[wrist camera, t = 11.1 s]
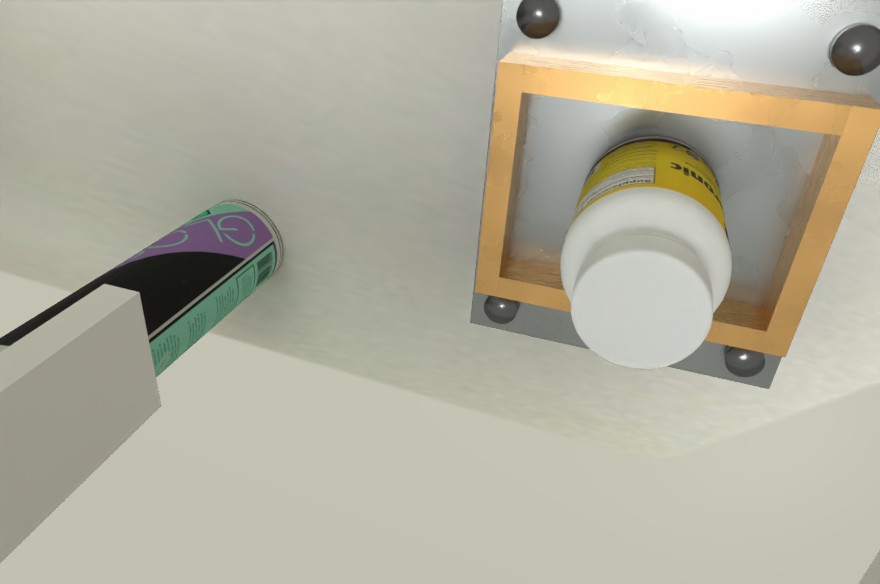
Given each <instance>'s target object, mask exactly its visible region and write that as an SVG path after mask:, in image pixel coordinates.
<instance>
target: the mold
mask: <svg viewBox="0 0 880 584" xmlns="http://www.w3.org/2000/svg"><path fill="white" fill-rule="evenodd" d="M879 126H880V0H503V4H502V14H501V24H500V34H499V43H498V53H497V63H496V73H495V83H494V93H493V103H492V113H491V123H490V133H489V143H488V152H487V162H486V172H485V182H484V192H483V202H482V212H481V222H480V232H479V242H478V251H477V261H476V271H475V281H474V291H473V301H472V311H471V321H470V323H474V324H479V325H483V326H488V327H492V328H497V329H501V330H506V331H510V332H515V333H519V334H524V335H528V336H533V337H537V338H542V339H546V340H551V341H555V342H560V343H564V344H569V345H573V346H578V347H582V348H587V349H590V348H589V347H588V346H587V345H586V344H585V343H584V342H583V341H582V339H581V338H580V336H579V335H578V333H577V331H576V329H575V326H574V324H573V321H572V316H571V302H570V300H569V299H568V297H567V295H566V292H565V289H564V287H563V283H562V278H561V269H560V262H561V253H562V249H563V244H564V241H565V238H566V235H567V232H568V229H569V226H570V223H571V220H572V217H573V214H574V212H575V209H576V206H577V202H578V200H579V197H580V194H581V191H582V188H583V185H584V183H585V180H586V178H587V176H588V174H589V172H590V171H591V169H592V167H593V166H594V165H595V163H596V162H597V161H598V160H599V159H600V158H601V157H602V156H603V155H604V154H605V153H606V152H608V151H609V150H610V149H612V148H614V147H615V146H617V145H619V144H621V143H623V142H626V141H628V140H631V139H635V138H640V137H648V136H660V137H667V138H672V139H675V140H678V141H681V142H683V143H685V144H687V145H689V146H690V147H692V148H693V149H695V150H696V151H697V152H699V153H700V154H701V155H702V156H703V157H704V158H705V159H706V160H707V162H708V163H709V165H710V166H711V168H712V170H713V172H714V174H715V176H716V179H717V182H718V185H719V189H720V194H721V200H722V206H723V212H724V218H725V223H726V228H727V233H728V238H729V243H730V249H731V252H732V256H731V258H732V272H731V279H730V283H729V286H728V289H727V292H726V294H725V296H724V299H723V300H722V302H721V303H720V305H719V307H718V308H717V309H716V310H715V312H714V313H713V320H712V324H711V328H710V330H709V332H708V334H707V336H706V338H705V340H704V341H703V342H702V344H701V345H700V346H699V347H698V348H697V349H696V350H695V351H694V352H693V353H692V354H690V355H689V356H688V357H686V358H684V359H683V360H681V361H679V362H677V363H674V364H672V365H669V366H668V367H672V368H677V369H681V370H686V371H690V372H695V373H699V374H704V375H708V376H713V377H717V378H722V379H726V380H731V381H735V382H740V383H744V384H749V385H753V386H758V387H762V388H767V389H769V388H770V385H771V383H772V380H773V378H774V375H775V373H776V370H777V368H778V365H779V363H780V360H781V358H782V357H785V356H786V354H787V351H788V349H789V347H790V344H791V342H792V339H793V337H794V334H795V332H796V329H797V327H798V325H799V322H800V320H801V317H802V315H803V312H804V310H805V307H806V305H807V302H808V300H809V298H810V295H811V293H812V290H813V288H814V285H815V283H816V280H817V278H818V276H819V273H820V271H821V268H822V266H823V263H824V261H825V258H826V256H827V253H828V251H829V249H830V246H831V244H832V241H833V239H834V236H835V234H836V231H837V229H838V227H839V224H840V222H841V219H842V217H843V214H844V212H845V209H846V207H847V205H848V202H849V200H850V197H851V195H852V192H853V190H854V187H855V185H856V182H857V180H858V178H859V175H860V173H861V170H862V168H863V165H864V163H865V160H866V158H867V156H868V153H869V151H870V148H871V146H872V143H873V141H874V138H875V136H876V133H877V131H878V129H879Z"/></svg>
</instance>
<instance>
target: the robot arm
mask: <svg viewBox="0 0 880 584" xmlns="http://www.w3.org/2000/svg"><path fill="white" fill-rule="evenodd" d="M160 407H161V402H160V396H159V391H158V386H157V381H156V376H155V370H154V365H153V360H152V355H151V350H150V345H149V339H148V334H147V329H146V324H145V319H144V314H143V308H142V303H141V298H140V293H139V292H136V291H132V290H128V289H124V288H120V287H116V286H111V285H107V284H103V285H102V286H100V287H99V288H97V289H96V290H94V291H93V292H91V293H90V294H88V295H87V296H85V297H83V298H82V299H80V300H79V301H77V302H76V303H74V304H73V305H71V306H70V307H68V308H67V309H65V310H64V311H62V312H61V313H59V314H58V315H56V316H55V317H53V318H52V319H50V320H49V321H47V322H46V323H44V324H43V325H41V326H39V327H38V328H36V329H35V330H33V331H32V332H30V333H29V334H27V335H26V336H24V337H23V338H21V339H20V340H18V341H17V342H15V343H14V344H12V345H11V346H9V347H8V348H6V349H5V350H3V351H2V352H0V563H1V562H2V561H3V560H4V559H5V558H6V557H7V556H8V555H9V554H10V553H11V552H12V551H13V550H14V549H15V548H16V547H17V546H18V545H19V544H20V543H21V542H22V541H23V540H24V539H25V538H26V537H27V536H29V535H30V533H31V532H33V531H34V530H35V529H36V528H37V527H38V526H39V525H40V524H41V523H42V522H43V521H44V520H45V519H46V518H47V517H48V516H49V515H50V514H51V513H52V512H53V511H54V510H55V509H56V508H57V507H58V506H59V505H60V504H61V503H62V502H63V501H64V500H65V499H66V498H67V497H68V496H69V495H70V494H72V492H74V491H75V490H76V488H77V487H79V486H80V485H81V484H82V483H83V482H84V481H85V480H86V479H87V478H88V477H89V476H90V475H91V474H92V473H93V472H94V471H95V470H96V469H97V468H98V467H99V466H100V465H101V464H102V463H103V462H104V461H105V460H106V459H107V458H108V457H109V456H110V455H111V454H112V453H113V452H114V451H116V449H118V447H120V446H121V445H122V444H123V443H124V442H125V441H126V440H127V439H128V438H129V437H130V436H131V435H132V434H133V433H134V432H135V431H136V430H137V429H138V428H139V427H140V426H141V425H142V424H143V423H144V422H145V421H146V420H147V419H148V418H149V417H150V416H151V415H152V414H153V413H154V412H155V411H157V410H158V408H160ZM859 584H880V551H879V553H878V554H877V556H876V557H875V559H874V560H873V562H872V564H871V565H870V567H869V568H868V570H867V571H866V573H865V575H864V576H863V578H862V579H861V581H860V582H859Z"/></svg>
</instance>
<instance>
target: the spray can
mask: <svg viewBox="0 0 880 584" xmlns="http://www.w3.org/2000/svg"><path fill="white" fill-rule="evenodd" d="M282 256H283V246H282V242H281V238H280V235H279V233H278V231H277V229H276V227H275V226H274V224H273V223H272V221H271V220H270V219H269V218H268V217H267V216H266V215H265V214H264V213H263V212H262V211H261V210H259V209H258V208H256V207H255V206H253V205H251V204H249V203H246V202H243V201H239V200H228V201H223V202H221V203H219V204H217V205H215V206H213V207H211V208H210V209H208V210H206V211H205V212H203V213H202V214H200V215H198V216H197V217H195V218H193V219H192V220H190V221H189V222H187V223H185V224H184V225H182V226H181V227H179V228H177V229H176V230H174V231H173V232H171V233H169V234H168V235H166V236H164V237H163V238H161V239H160V240H158V241H156V242H155V243H153V244H152V245H150V246H148V247H147V248H145V249H143V250H142V251H140V252H139V253H137V254H135V255H134V256H132V257H131V258H129V259H127V260H126V261H124V262H123V263H121V264H119V265H118V266H116V267H114V268H113V269H111V270H110V271H108V272H106V273H105V274H103V275H102V276H100V277H98V278H97V279H95V280H93V281H92V282H90V283H89V284H87V285H85V286H84V287H82V288H81V289H79V290H77V291H76V292H74V293H73V294H71V295H69V296H68V297H66V298H65V299H63V300H61V301H60V302H58V303H57V304H55V305H53V306H52V307H50V308H48V309H47V310H45V311H44V312H42V313H40V314H39V315H37V316H35V317H34V318H32V319H31V320H29V321H27V322H26V323H24V324H23V325H21V326H19V327H18V328H16V329H14V330H13V331H11V332H10V333H8V334H6V335H5V336H3V337H2V338H0V352H2V351H3V350H5V349H6V348H8V347H9V346H11V345H12V344H14V343H15V342H17V341H18V340H20V339H21V338H23V337H24V336H26V335H27V334H29V333H30V332H32V331H33V330H35V329H36V328H38V327H39V326H41V325H43V324H44V323H46V322H47V321H49V320H50V319H52V318H53V317H55V316H56V315H58V314H59V313H61V312H62V311H64V310H65V309H67V308H68V307H70V306H71V305H73V304H74V303H76V302H77V301H79V300H80V299H82V298H83V297H85V296H87V295H88V294H90V293H91V292H93V291H94V290H96V289H97V288H99V287H100V286H102V285H103V284H107V285H111V286H116V287H120V288H124V289H128V290H132V291H136V292H139V293H140V298H141V303H142V308H143V314H144V319H145V324H146V329H147V334H148V339H149V345H150V350H151V355H152V360H153V365H154V370H155V376H156V377H157V376H158V375H159V374H160V373H162V372H163V371H164V370H165V369H166V368H167V367H168V366H170V365H171V364H172V363H173V362H174V361H175V360H176V359H177V358H179V356H181V355H182V354H183V353H184V352H185V351H187V350H188V349H189V348H190V347H191V346H192V345H193V344H195V343H196V342H197V341H198V340H199V339H200V338H201V337H202V336H204V335H205V334H206V333H207V332H208V331H209V330H210V329H212V328H213V327H214V326H215V325H216V324H217V323H218V322H219V321H221V320H222V319H223V318H224V317H225V316H226V315H227V314H229V313H230V312H231V311H232V310H233V309H234V308H235V307H237V306H238V305H239V304H240V303H241V302H242V301H243V300H244V299H246V298H247V297H248V296H249V295H250V294H251V293H252V292H254V291H255V290H256V289H257V288H258V287H259V286H260V285H262V284H263V283H264V282H265V281H266V280H267V279H268V278H269V277H271V276H272V274H273V273H274V272H275V271H276V270H277V269H278V268H279V266H280V263H281V261H282Z"/></svg>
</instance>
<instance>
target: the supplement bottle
mask: <svg viewBox="0 0 880 584" xmlns="http://www.w3.org/2000/svg"><path fill="white" fill-rule="evenodd" d="M731 256H732V252H731V249H730V243H729V238H728V233H727V228H726V223H725V218H724V212H723V206H722V200H721V194H720V189H719V185H718V182H717V179H716V176H715V174H714V172H713V170H712V168H711V166H710V165H709V163H708V162H707V160H706V159H705V158H704V157H703V156H702V155H701V154H700V153H699V152H697V151H696V150H695V149H693V148H692V147H690V146H689V145H687V144H685V143H683V142H681V141H678V140H675V139H672V138H667V137H660V136H648V137H640V138H635V139H631V140H628V141H626V142H623V143H621V144H619V145H617V146H615V147H614V148H612V149H610V150H609V151H608V152H606V153H605V154H604V155H603V156H602V157H601V158H600V159H599V160H598V161H597V162H596V163H595V165H594V166H593V167H592V169H591V171H590V172H589V174H588V176H587V178H586V180H585V183H584V185H583V188H582V191H581V194H580V197H579V200H578V202H577V206H576V209H575V212H574V214H573V217H572V220H571V223H570V226H569V229H568V232H567V235H566V238H565V241H564V244H563V249H562V253H561V262H560V269H561V278H562V283H563V287H564V289H565V292H566V295H567V297H568V299H569V300H570V302H571V316H572V321H573V324H574V326H575V329H576V331H577V333H578V335H579V336H580V338H581V339H582V341H583V342H584V343H585V344H586V345H587V346H588V347H589V348H590V349H591V350H592V351H593V352H594V353H596V354H597V355H599V356H600V357H602V358H603V359H605V360H607V361H609V362H611V363H614V364H616V365H619V366H623V367H627V368H633V369H656V368H661V367H665V366H669V365H672V364H674V363H677V362H679V361H681V360H683V359H684V358H686V357H688V356H689V355H690V354H692V353H693V352H694V351H695V350H696V349H697V348H698V347H699V346H700V345H701V344H702V342H703V341H704V340H705V338H706V336H707V334H708V332H709V330H710V328H711V324H712V320H713V313H714V312H715V310H716V309H717V308H718V307H719V305H720V303H721V302H722V300H723V299H724V296H725V294H726V292H727V289H728V286H729V283H730V279H731V272H732V258H731Z"/></svg>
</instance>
